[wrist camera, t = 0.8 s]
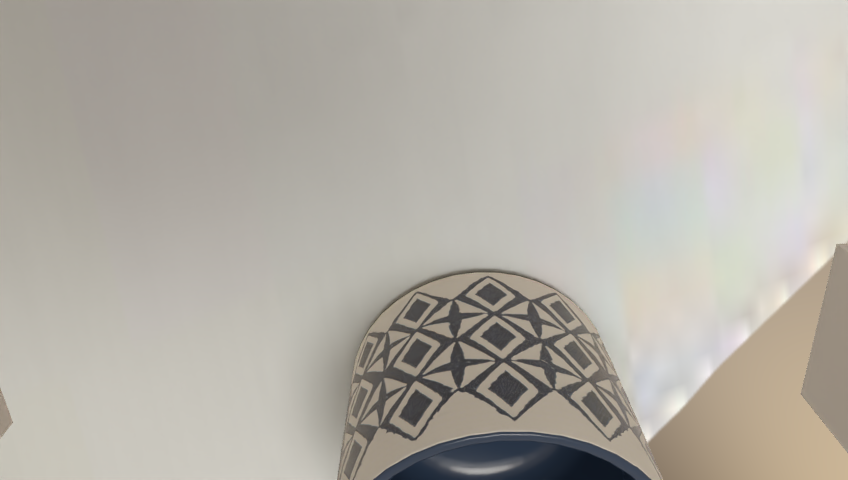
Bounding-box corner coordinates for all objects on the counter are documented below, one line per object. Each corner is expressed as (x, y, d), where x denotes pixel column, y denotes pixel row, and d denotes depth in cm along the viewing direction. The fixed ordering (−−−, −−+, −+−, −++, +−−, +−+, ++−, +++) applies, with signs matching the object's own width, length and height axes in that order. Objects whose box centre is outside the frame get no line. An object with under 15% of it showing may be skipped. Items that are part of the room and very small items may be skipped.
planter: (485, 512, 48) (510, 731, 35) (301, 391, 44) (252, 589, 31) (659, 368, 43) (763, 560, 30) (471, 214, 39) (497, 361, 26)
